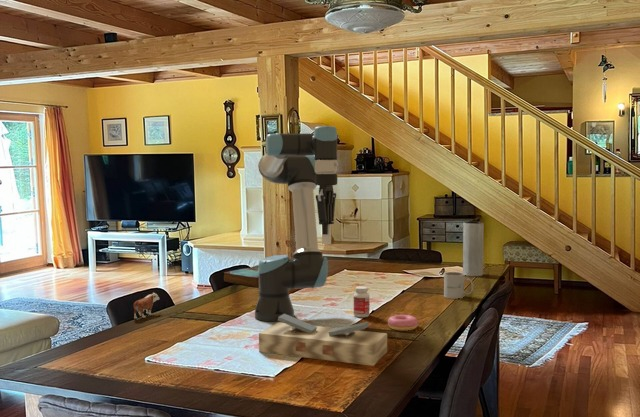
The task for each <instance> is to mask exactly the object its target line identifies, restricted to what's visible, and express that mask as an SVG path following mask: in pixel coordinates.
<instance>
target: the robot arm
mask: <svg viewBox="0 0 640 417" xmlns="http://www.w3.org/2000/svg"><path fill="white" fill-rule="evenodd" d="M337 131H338V129H337V127H336V126H333V125H332V126H329V125H327V126H326V125H323V126H322V125H321V126H316V127H315V128H314V132H313V133H279V132H275V133H269V134H267V135H266V138H265V154H264V155H262V157H261V158H260V160H259V162H258V172H259V174H260V175H261V176H262V177H263V179H265V180H266V181H269V182H270V183H273V184H277V185H281V184H282V185H287V189H288V190H289V191H290V192H291V193H292V194H291V196H292V207H293V211H292V212H293V222H294V223H293V224H294V236H295V251H294V252H293V254H292V258H290V257H289V255H288V254H275V255H270V256H267V257H263V258H261V259H260V261H259V262H258V269H259V270H258V273H259V286H258V299H257V303H256V306H255V310H254V318H255V320H258V321H263V322H279V321H278V317H279V316H281V315H283V314H287V315H289V316H291V317H294V318H295V309H294V306H293V303H292V300H291V298H290V290H296V289H297V290H298V289H314V288H321V287H324V286H325V285H326V282H327V278H328V272H329V261H328V258H327V257H326V256H323V251H321V249H319V246H318V245H319V244H318V242H319V241H318V231H317V222H316V219H317V218H316V209H317V217H318V225H321V244H322V245H331V244H332V225H334V224H335V211H336V210H335V207H336V200H337V193H336V192H334V186H337V185H338V174H337V173H338V166H339V163H338V137H339V136H338V132H337ZM317 186H318V187H319V188H318V194H316V195H315V196H314V194H315V193H314V190H316V188H317ZM315 200H316V206H315ZM316 207H317V208H316Z"/></svg>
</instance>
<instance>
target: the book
mask: <svg viewBox="0 0 640 417" xmlns="http://www.w3.org/2000/svg"><path fill="white" fill-rule="evenodd" d="M258 270H259V268H252V267H247V268H239V269H235V270H229V271H224V272H223V273H224V275H223V280H224V282H225V283H230V284H235V285H243V286H247V287H254V288H259V273H258Z"/></svg>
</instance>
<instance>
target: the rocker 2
mask: <svg viewBox="0 0 640 417" xmlns="http://www.w3.org/2000/svg"><path fill="white" fill-rule="evenodd" d="M369 326H370V323H369V321H365V322H361V323H360V322H359V323H355V324H349V325H345V326H341V327H340V326H339V327H334V328H335V329H332V330H331V331H330V332H328V333H329V336H333V335H338V334H343V333H345V335H349V334H350V333H351V332H352V331H357V330H359V331H363V330H366V328H368V327H369Z"/></svg>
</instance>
